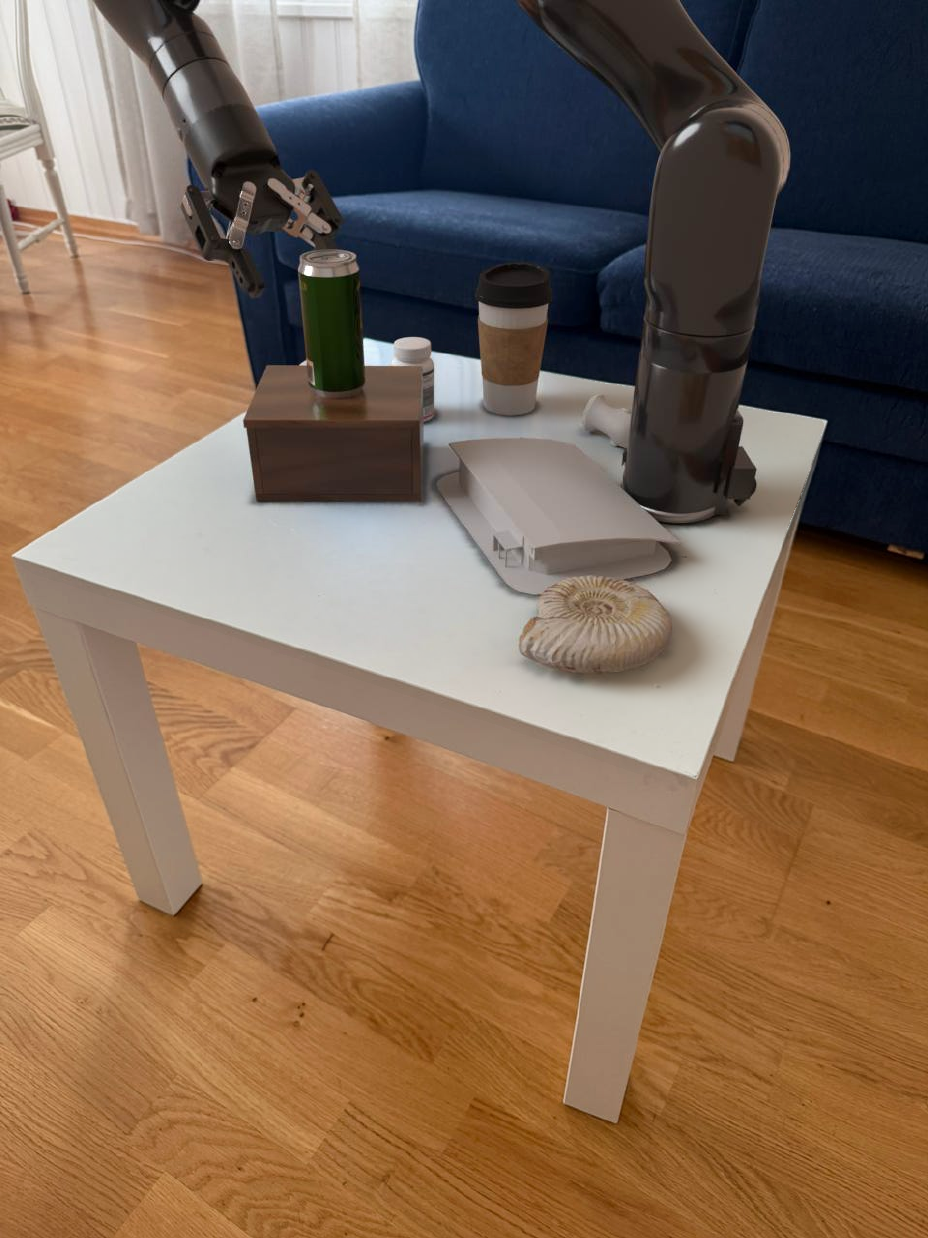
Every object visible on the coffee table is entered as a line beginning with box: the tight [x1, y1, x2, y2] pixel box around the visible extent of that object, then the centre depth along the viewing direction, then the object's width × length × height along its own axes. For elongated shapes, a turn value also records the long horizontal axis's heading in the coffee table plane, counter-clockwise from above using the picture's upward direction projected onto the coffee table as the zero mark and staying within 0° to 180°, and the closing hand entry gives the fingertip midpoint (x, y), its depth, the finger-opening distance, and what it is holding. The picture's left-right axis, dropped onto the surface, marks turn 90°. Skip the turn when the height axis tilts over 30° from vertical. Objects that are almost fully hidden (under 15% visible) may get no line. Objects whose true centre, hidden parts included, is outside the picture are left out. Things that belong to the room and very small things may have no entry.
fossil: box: [518, 576, 673, 674], centre depth 68 cm, size 12×5×10 cm
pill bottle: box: [390, 336, 435, 423], centre depth 100 cm, size 5×5×8 cm
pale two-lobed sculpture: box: [582, 393, 632, 449], centre depth 97 cm, size 4×8×5 cm
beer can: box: [297, 249, 366, 399], centre depth 82 cm, size 5×5×12 cm
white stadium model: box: [436, 437, 681, 596], centre depth 83 cm, size 15×23×4 cm, turn 20°
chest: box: [245, 376, 425, 503], centre depth 89 cm, size 13×16×8 cm
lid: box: [242, 364, 423, 429], centre depth 86 cm, size 13×16×1 cm
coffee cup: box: [474, 262, 554, 417], centre depth 101 cm, size 8×8×15 cm
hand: (299, 284), depth 84 cm, fingers open, 8 cm apart
